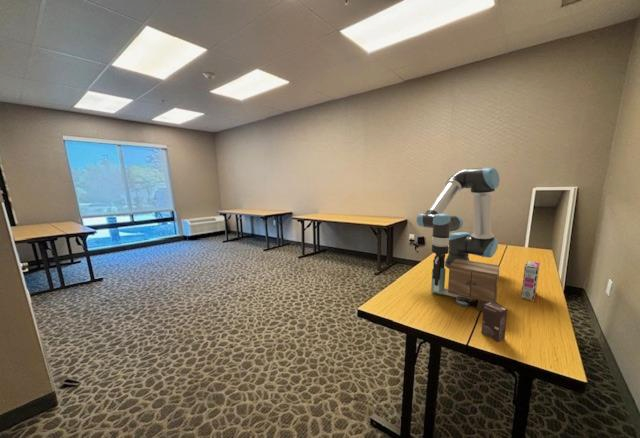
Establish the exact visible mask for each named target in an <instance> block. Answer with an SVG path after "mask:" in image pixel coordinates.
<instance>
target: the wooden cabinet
mask: <svg viewBox="0 0 640 438" xmlns="http://www.w3.org/2000/svg"><path fill="white" fill-rule="evenodd" d="M499 276H500V265H499V264H493V263H486V262H479V261H475V260H474V261H473V260H470V261H468V260H462V259H455V260H454V261H453V262H452V264H451V265H450V266H449V268H448V282H447V283H448V285H447V289H448V293H452V294H456V295H460V296H464V297H469V298H473V300H477V307H476V308H477V309H476V311H479V312H482V313H483V309H484V304H486V303H488V302H492V303H495V304H497V297H498V286H499Z"/></svg>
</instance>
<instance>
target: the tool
mask: <svg viewBox="0 0 640 438" xmlns="http://www.w3.org/2000/svg"><path fill="white" fill-rule="evenodd" d="M432 277H433V268H432V270H431V289H430V292H431V293H435V294H438V295H446V296H450V297H454V298H456V297H464V296H460V295H456V294H452V293H448V288H445V286H446V284H445V283H446V267H444V268H441V270H440V291H439V292H437V291H433V287H434V279H433V278H432ZM465 298H468V299H470V300H471V302H473V301H474V299H473V298H469V297H465Z"/></svg>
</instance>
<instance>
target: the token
mask: <svg viewBox="0 0 640 438" xmlns="http://www.w3.org/2000/svg"><path fill="white" fill-rule="evenodd" d="M471 303H472V301H471V300H470V299H468V298H465V297H455V304H456V305H457V306H459V307H463V308H469V307H471Z"/></svg>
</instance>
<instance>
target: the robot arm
mask: <svg viewBox="0 0 640 438" xmlns="http://www.w3.org/2000/svg"><path fill="white" fill-rule="evenodd" d="M499 184H500V174H499V171H498V170H497V169H496V168H494V167H478V168H477V167H475V168H463V169H461V170H459V171H457V172H456V173H454V174H453V175H451V176H450V177H449V178H448V179H447V180H446V181H445V183H444V187H443V189H442V190H441V191H440V192H439V194H438V196H437V197H436V198H435V199H434V200H433V203H431V205H430V206H429V207H428V209H427V210H426V211H425V213H424V212H422V213H419V214H418V215H417V216H416V223H417V225H418V226H419V227H423V228H428V229H432V235H431V236H432V237H431V238H430V239H431V240H432V241H431V243H432V245H431V252H432V253H433V254H435V255H434V258H433V261H432V263H433V264H432V265H433V266H432V267H433V268H432V269H433V277H432V276H431V279H432V278H433V279H434V287H433V291H437V292H439V291H440V270H441V268H446V267H447V268H448V269H449V266H450V265H451V264H452V262H453V261H454V260H455V259H462V260H468V261H471V260H470V258H469V255H474V256H479V257H482V258H492V257H494V255H496V252H497V249H498V246H499V240H498V239H496V238H495V235H494V234H493V233H492V194H493V193H494V192H496V189H497V188H499V186H500V185H499ZM464 189H470V193H472V195H473V233H470V232H467V231H461V232H460V231H459V232H458V230H459V229H462V227H463V225H464V221H463V219H462V218H461V216H459V215H450V214H448V213H444V212H445V211H446V209H447V208H448V206H449V205H450V203H451V202H452V200H453V199H454V198H455V197H456V195H457V194H458V193H460V192H461V191H462V190H464ZM454 231H455V232H454ZM456 231H457V232H456ZM451 232H452V233H451ZM447 254H448V255H447ZM446 255H447V256H446Z"/></svg>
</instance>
